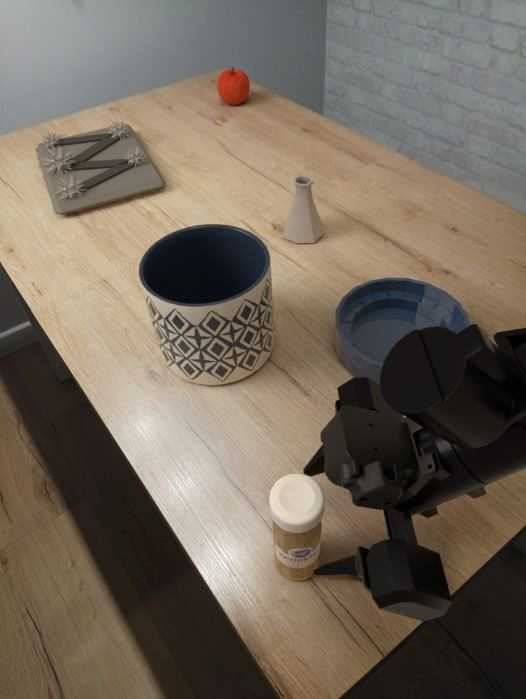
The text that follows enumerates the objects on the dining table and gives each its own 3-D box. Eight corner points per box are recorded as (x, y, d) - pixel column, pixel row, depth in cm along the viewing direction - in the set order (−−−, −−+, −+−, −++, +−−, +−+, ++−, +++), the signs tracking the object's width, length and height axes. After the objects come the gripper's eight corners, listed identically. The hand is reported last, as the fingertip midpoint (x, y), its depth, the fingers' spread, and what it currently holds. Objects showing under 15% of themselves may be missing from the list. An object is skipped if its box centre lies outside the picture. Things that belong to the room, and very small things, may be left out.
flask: (328, 223, 90) (331, 170, 83) (318, 248, 86) (319, 194, 78) (289, 218, 92) (288, 165, 85) (276, 241, 88) (274, 188, 80)
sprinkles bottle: (286, 590, 50) (282, 533, 40) (267, 547, 53) (259, 483, 43) (328, 570, 51) (335, 509, 41) (307, 529, 54) (309, 463, 44)
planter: (188, 406, 65) (166, 326, 55) (145, 330, 75) (120, 249, 64) (296, 357, 70) (295, 274, 59) (242, 291, 79) (234, 210, 69)
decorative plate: (169, 191, 101) (162, 156, 95) (58, 221, 95) (44, 186, 90) (131, 131, 120) (123, 99, 114) (37, 153, 114) (24, 121, 109)
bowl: (490, 359, 68) (500, 335, 64) (385, 414, 63) (390, 391, 59) (405, 286, 78) (410, 262, 75) (309, 329, 73) (310, 305, 70)
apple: (231, 93, 131) (228, 59, 125) (257, 99, 128) (255, 64, 122) (212, 104, 127) (207, 70, 121) (238, 111, 124) (234, 76, 118)
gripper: (373, 304, 39) (240, 399, 47) (439, 549, 27) (241, 621, 35) (454, 365, 45) (322, 441, 53) (539, 591, 32) (349, 645, 41)
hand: (311, 520), depth 45 cm, fingers open, 9 cm apart
